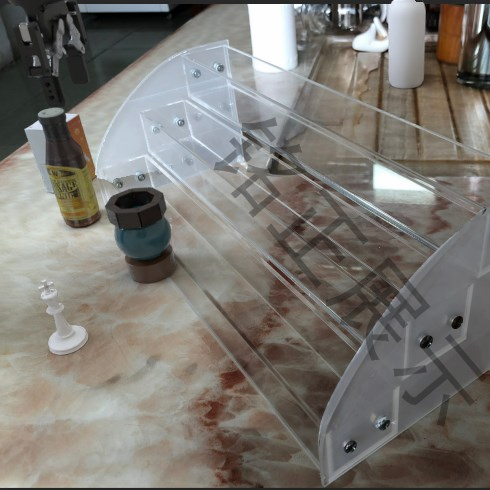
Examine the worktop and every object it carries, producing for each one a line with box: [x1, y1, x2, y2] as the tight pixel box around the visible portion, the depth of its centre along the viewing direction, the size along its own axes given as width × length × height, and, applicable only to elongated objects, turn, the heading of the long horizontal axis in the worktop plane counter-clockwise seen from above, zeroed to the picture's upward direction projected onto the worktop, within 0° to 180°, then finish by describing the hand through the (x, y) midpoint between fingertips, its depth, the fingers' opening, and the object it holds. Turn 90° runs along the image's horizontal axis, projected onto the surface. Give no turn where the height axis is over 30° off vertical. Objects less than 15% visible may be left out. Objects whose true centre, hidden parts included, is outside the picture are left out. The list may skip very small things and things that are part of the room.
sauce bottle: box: [37, 107, 101, 228], centre depth 99 cm, size 6×6×20 cm
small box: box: [24, 112, 97, 194], centre depth 112 cm, size 8×6×13 cm
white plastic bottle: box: [387, 0, 427, 90], centre depth 142 cm, size 9×9×30 cm
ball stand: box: [113, 206, 177, 284], centre depth 87 cm, size 8×8×10 cm
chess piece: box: [37, 279, 89, 356], centre depth 75 cm, size 5×5×10 cm
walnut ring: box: [104, 186, 168, 229], centre depth 84 cm, size 8×8×2 cm
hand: (70, 94), depth 77 cm, fingers open, 8 cm apart
